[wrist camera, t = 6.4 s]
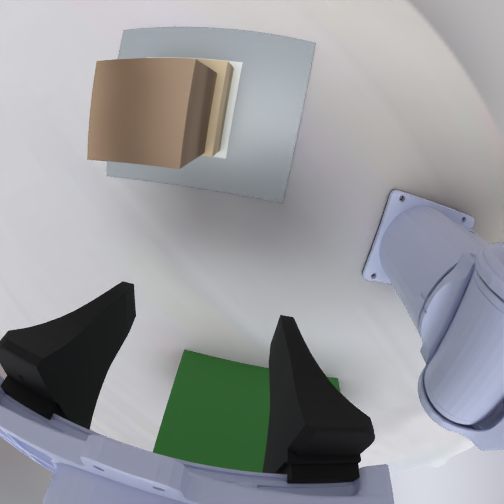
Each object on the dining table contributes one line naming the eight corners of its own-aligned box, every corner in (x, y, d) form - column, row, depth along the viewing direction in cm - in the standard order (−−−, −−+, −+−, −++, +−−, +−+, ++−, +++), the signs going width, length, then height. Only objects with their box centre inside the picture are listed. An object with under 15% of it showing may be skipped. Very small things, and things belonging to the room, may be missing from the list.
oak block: (234, 68, 16) (228, 61, 14) (219, 150, 19) (212, 156, 17) (151, 63, 16) (134, 58, 14) (141, 141, 19) (123, 147, 17)
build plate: (314, 44, 16) (315, 42, 15) (282, 200, 21) (282, 203, 21) (127, 31, 15) (123, 29, 15) (110, 174, 21) (106, 176, 20)
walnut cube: (217, 73, 14) (196, 58, 10) (204, 153, 17) (179, 169, 12) (139, 70, 14) (96, 61, 10) (130, 145, 16) (87, 159, 12)
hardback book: (180, 386, 33) (135, 561, 11) (184, 349, 29) (123, 565, 8) (313, 410, 34) (319, 577, 12) (337, 378, 30) (357, 577, 9)
